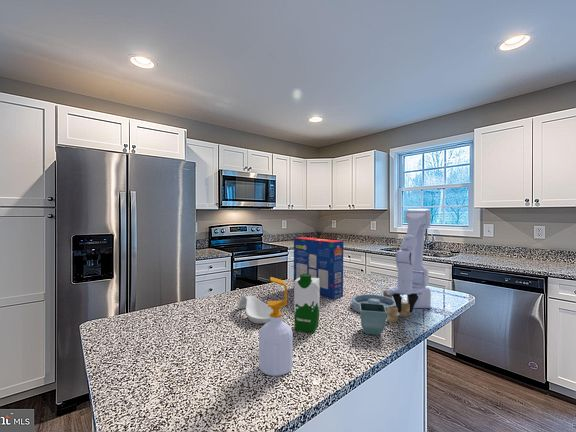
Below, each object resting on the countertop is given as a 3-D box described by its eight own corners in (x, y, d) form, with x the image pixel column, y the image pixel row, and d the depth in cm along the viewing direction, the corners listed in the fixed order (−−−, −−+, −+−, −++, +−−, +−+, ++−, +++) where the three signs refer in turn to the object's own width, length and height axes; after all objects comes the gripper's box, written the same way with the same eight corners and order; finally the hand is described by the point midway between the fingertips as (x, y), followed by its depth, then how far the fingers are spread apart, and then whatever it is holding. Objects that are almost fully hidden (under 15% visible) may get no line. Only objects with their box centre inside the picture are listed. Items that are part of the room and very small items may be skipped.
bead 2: (395, 318, 117) (395, 306, 117) (399, 322, 113) (399, 309, 113) (385, 318, 117) (385, 306, 117) (389, 322, 113) (388, 309, 113)
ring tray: (389, 301, 140) (389, 293, 140) (405, 316, 120) (405, 307, 120) (347, 300, 140) (347, 293, 140) (356, 315, 120) (356, 307, 120)
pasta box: (343, 296, 147) (343, 241, 147) (332, 299, 142) (333, 242, 141) (303, 285, 168) (304, 237, 168) (293, 288, 163) (293, 237, 162)
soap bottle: (259, 359, 84) (259, 274, 84) (290, 358, 85) (291, 274, 85) (258, 377, 75) (259, 282, 75) (294, 376, 76) (294, 281, 76)
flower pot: (386, 338, 99) (387, 312, 99) (359, 336, 101) (360, 310, 100) (383, 328, 107) (384, 304, 107) (359, 326, 109) (359, 302, 109)
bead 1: (390, 300, 141) (390, 290, 141) (393, 303, 137) (393, 292, 137) (382, 300, 141) (382, 290, 141) (384, 303, 137) (384, 292, 137)
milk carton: (291, 331, 104) (291, 275, 104) (299, 322, 113) (299, 270, 113) (315, 334, 101) (316, 277, 101) (321, 325, 110) (321, 272, 110)
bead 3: (407, 313, 123) (407, 301, 123) (411, 317, 119) (411, 305, 119) (397, 313, 123) (398, 301, 123) (401, 317, 119) (401, 304, 119)
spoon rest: (282, 323, 112) (282, 304, 112) (254, 330, 106) (254, 310, 106) (254, 306, 132) (254, 290, 132) (229, 311, 126) (229, 294, 126)
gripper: (390, 281, 117) (390, 315, 117) (427, 281, 116) (426, 315, 117) (384, 277, 124) (384, 309, 124) (419, 277, 123) (419, 309, 124)
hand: (404, 312), depth 121 cm, fingers closed on bead 3, 4 cm apart
